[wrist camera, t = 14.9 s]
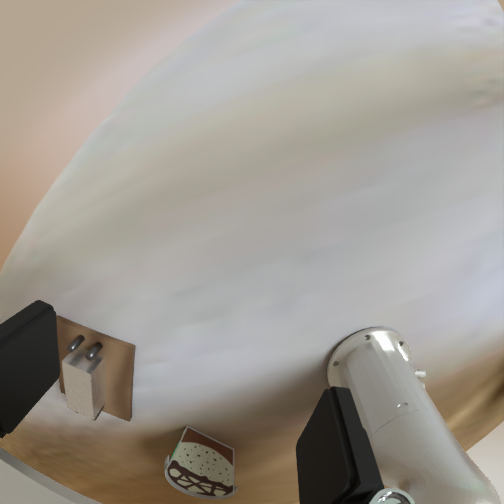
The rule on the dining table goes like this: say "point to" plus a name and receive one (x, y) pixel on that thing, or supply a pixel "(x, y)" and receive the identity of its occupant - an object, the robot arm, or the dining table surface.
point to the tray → (116, 364)
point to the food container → (201, 466)
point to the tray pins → (88, 355)
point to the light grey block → (84, 382)
